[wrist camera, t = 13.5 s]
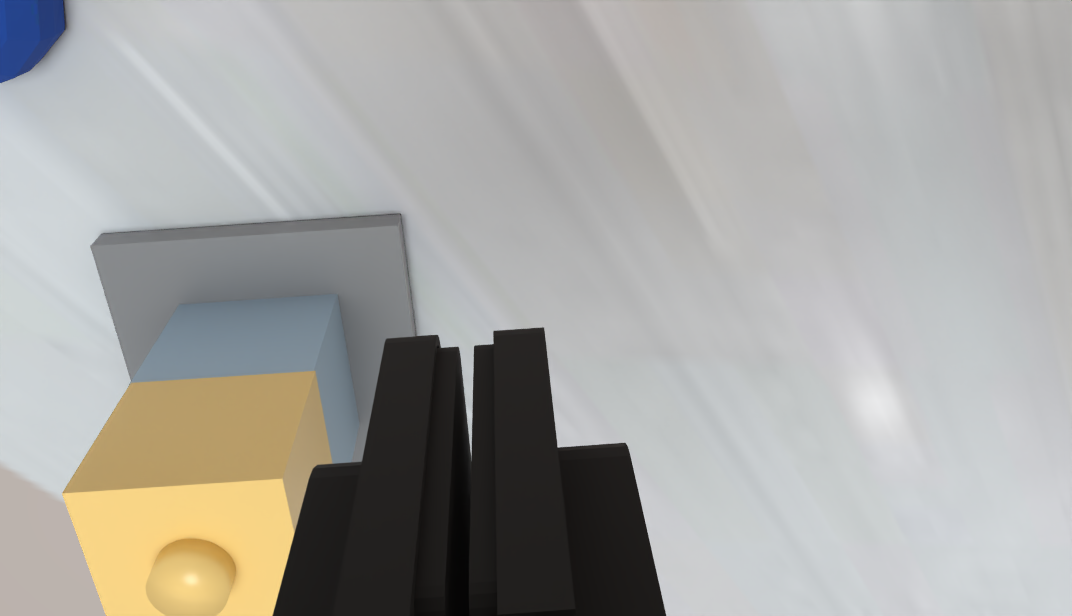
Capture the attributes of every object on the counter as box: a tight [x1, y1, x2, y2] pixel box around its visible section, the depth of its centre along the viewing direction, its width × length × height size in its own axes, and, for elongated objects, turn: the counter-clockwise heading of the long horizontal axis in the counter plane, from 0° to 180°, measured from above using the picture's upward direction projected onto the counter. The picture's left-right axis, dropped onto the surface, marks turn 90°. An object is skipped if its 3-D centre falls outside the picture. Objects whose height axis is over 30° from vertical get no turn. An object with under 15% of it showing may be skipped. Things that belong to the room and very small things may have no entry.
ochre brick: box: [62, 371, 333, 616], centre depth 31 cm, size 6×6×7 cm
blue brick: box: [129, 294, 360, 464], centre depth 36 cm, size 6×6×7 cm
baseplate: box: [91, 214, 416, 462], centre depth 40 cm, size 12×12×2 cm
